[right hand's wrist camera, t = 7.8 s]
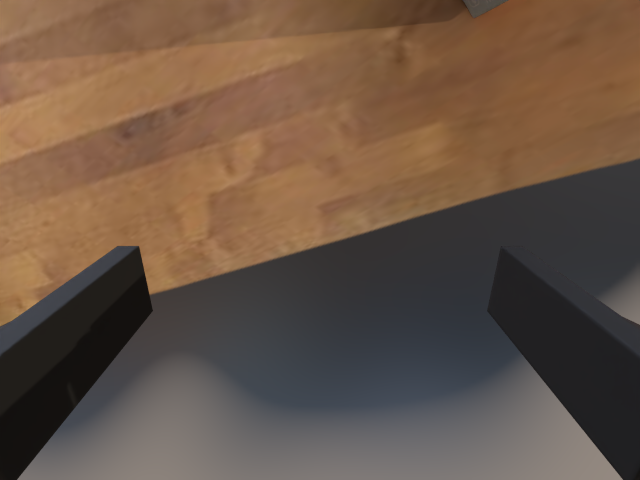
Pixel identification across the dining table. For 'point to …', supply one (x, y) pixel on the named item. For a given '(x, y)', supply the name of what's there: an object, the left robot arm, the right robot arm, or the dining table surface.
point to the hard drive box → (481, 6)
